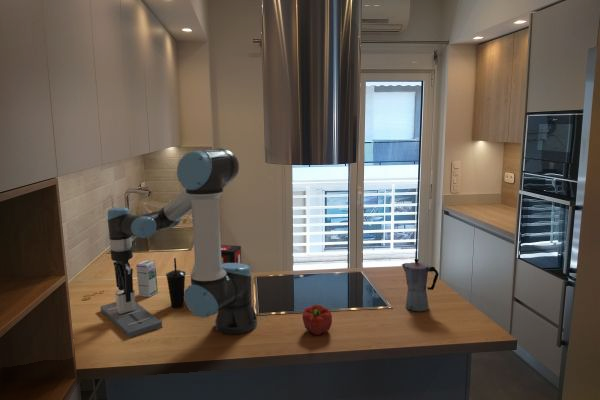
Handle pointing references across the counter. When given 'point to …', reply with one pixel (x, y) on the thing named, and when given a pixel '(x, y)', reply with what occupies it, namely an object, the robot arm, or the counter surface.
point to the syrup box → (147, 278)
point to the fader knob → (121, 302)
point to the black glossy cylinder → (176, 286)
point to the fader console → (131, 319)
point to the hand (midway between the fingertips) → (126, 307)
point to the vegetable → (317, 319)
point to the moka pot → (418, 285)
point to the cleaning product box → (230, 254)
